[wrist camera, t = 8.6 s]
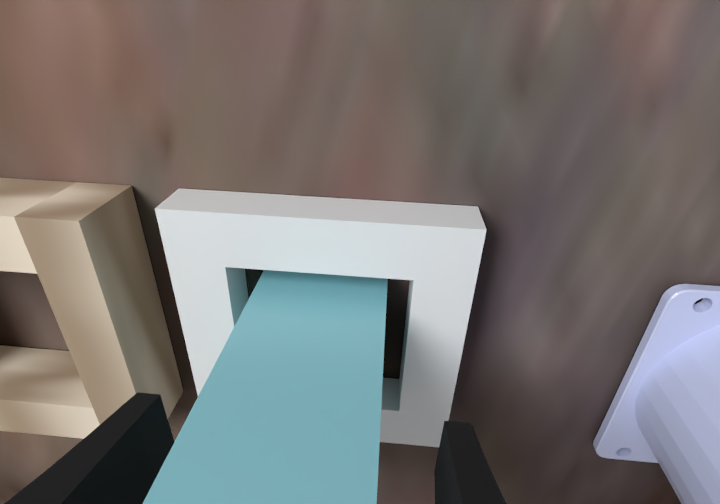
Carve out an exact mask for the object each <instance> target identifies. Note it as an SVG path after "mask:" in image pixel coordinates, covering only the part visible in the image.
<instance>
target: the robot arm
mask: <svg viewBox="0 0 720 504" xmlns="http://www.w3.org/2000/svg"><path fill="white" fill-rule="evenodd" d="M702 298H703V300H702V301H701V302H699V303H697V304H694V303H695V302H696V301H698V300H700V299H702ZM173 444H174V439H173V436H172V433H171V429H170V426H169V422H168V419H167V415H166V412H165V409H164V405H163V402H162V398H161V395H160V394H149V393H139V392H137V393H136V394H135V395H134V396H133V397H132V398H130V399H129V400H128V401H127V402H126V403H124V404H123V405H122V406H121V407H120V408H119V409H117V410H116V411H115V412H114V413H113V414H112V415H111V416H109V417H108V418H107V419H106V420H105V421H104V422H103V423H101V424H100V425H99V426H98V427H97V428H96V429H95V430H93V431H92V432H91V433H90V434H89V435H88V436H86V437H85V438H84V439H83V440H82V441H81V442H80V443H78V444H77V445H76V446H75V447H74V448H72V449H71V450H70V451H69V452H68V453H66V454H65V455H64V456H63V457H62V458H61V459H59V460H58V461H57V462H56V463H55V464H53V465H52V466H51V467H50V468H49V469H47V470H46V471H45V472H44V473H43V474H41V475H40V476H39V477H38V478H36V479H35V480H34V481H33V482H31V483H30V484H29V485H28V486H26V487H25V488H24V489H22V490H21V491H20V492H19V493H17V494H16V495H15V496H14V497H12V498H11V499H10V500H9V501H7V502H6V503H5V504H143V502H144V500H145V498H146V496H147V494H148V492H149V490H150V488H151V486H152V484H153V482H154V480H155V479H156V477H157V475H158V473H159V471H160V469H161V467H162V465H163V463H164V461H165V459H166V457H167V455H168V454H169V452H170V450H171V448H172V446H173ZM593 446H594V448H595V451H596V453H597V455H599V456H600V457H603V458H609V459H620V460H631V461H642V462H653V463H659V464H660V466H661V468H662V470H663V472H664V473H665V475H666V477H667V479H668V480H669V482H670V484H671V486H672V488H673V489H674V491H675V493H676V495H677V497H678V498H679V500H680V502H681V504H720V286H711V285H696V284H678V285H675V286H673V287H671V288H669V289H668V290H666V291H665V293H664V294H663V295H662V297H661V299H660V301H659V303H658V306H657V308H656V310H655V312H654V314H653V316H652V318H651V320H650V323H649V325H648V327H647V329H646V331H645V333H644V335H643V337H642V340H641V342H640V344H639V346H638V348H637V350H636V352H635V354H634V357H633V359H632V361H631V363H630V365H629V367H628V369H627V371H626V374H625V376H624V378H623V380H622V382H621V384H620V386H619V388H618V391H617V393H616V395H615V397H614V399H613V401H612V403H611V405H610V408H609V410H608V412H607V414H606V416H605V418H604V420H603V422H602V425H601V427H600V429H599V431H598V433H597V435H596V437H595V439H594V442H593ZM435 504H506V502H505V500H504V498H503V496H502V494H501V491H500V489H499V487H498V485H497V483H496V481H495V479H494V476H493V474H492V472H491V470H490V468H489V465H488V463H487V461H486V458H485V456H484V454H483V451H482V449H481V446H480V444H479V441H478V439H477V436H476V433H475V430H474V428H473V426H472V425H471V424H470V423H463V422H452V421H444V425H443V431H442V436H441V441H440V446H439V451H438V457H437V462H436V467H435Z"/></svg>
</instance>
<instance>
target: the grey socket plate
mask: <svg viewBox="0 0 720 504" xmlns="http://www.w3.org/2000/svg"><path fill="white" fill-rule="evenodd" d="M155 212H156V217H157V221H158V225H159V230H160V234H161V238H162V243H163V247H164V252H165V256H166V260H167V265H168V269H169V273H170V278H171V282H172V286H173V291H174V295H175V299H176V304H177V308H178V312H179V317H180V321H181V325H182V330H183V334H184V338H185V343H186V347H187V352H188V356H189V360H190V365H191V369H192V373H193V378H194V382H195V386H196V391H197V395H198V396H199V394H200V392H201V390H202V388H203V386H204V384H205V382H206V380H207V378H208V377H209V375H210V373H211V371H212V369H213V367H214V365H215V363H216V361H217V359H218V357H219V355H220V353H221V352H222V350H223V348H224V346H225V344H226V342H227V340H228V338H229V336H230V334H231V332H232V330H233V328H234V327H235V325H236V323H237V321H238V319H239V317H240V315H241V313H242V311H243V309H244V307H245V305H246V303H247V301H248V300H249V298H248V290H247V282H246V274H245V269H259V270H273V271H287V272H301V273H315V274H330V275H344V276H358V277H372V278H386V279H400V280H410V282H409V292H408V301H407V310H406V320H405V329H404V339H403V348H402V358H401V367H400V377H399V379H394V378H383V384H382V404H381V424H380V442H387V443H397V444H408V445H419V446H430V447H439V446H440V441H441V436H442V431H443V425H444V421H449V416H450V411H451V406H452V401H453V396H454V391H455V386H456V381H457V376H458V371H459V366H460V361H461V356H462V351H463V346H464V341H465V336H466V331H467V326H468V321H469V316H470V311H471V306H472V301H473V296H474V291H475V286H476V281H477V276H478V271H479V266H480V261H481V255H482V250H483V245H484V240H485V235H486V230H487V229H486V227H485V224H484V222H483V219H482V216H481V214H480V211H479V208H478V207H476V206H460V205H443V204H427V203H410V202H394V201H377V200H361V199H344V198H328V197H311V196H295V195H278V194H261V193H245V192H228V191H212V190H195V189H178V190H177V191H176V192H174V193H173V194H172V195H171V196H169V197H168V198H167V199H166V200H165V201H163V202H162V203H161V204H160V205H159V206H157V207H156V208H155Z"/></svg>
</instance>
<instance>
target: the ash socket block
mask: <svg viewBox="0 0 720 504" xmlns="http://www.w3.org/2000/svg"><path fill="white" fill-rule="evenodd" d="M0 271H9V272H22V273H36V274H38V276H39V279H40V281H41V284H42V286H43V288H44V291H45V293H46V296H47V298H48V301H49V303H50V305H51V308H52V310H53V313H54V315H55V317H56V320H57V322H58V325H59V327H60V330H61V332H62V334H63V337H64V339H65V342H66V344H67V346H68V349H69V351H61V350H49V349H37V348H25V347H14V346H2V345H0V431H10V432H20V433H30V434H41V435H51V436H62V437H72V438H83V439H84V438H85V437H86V436H88V435H89V434H90V433H91V432H92V431H93V430H95V429H96V428H97V427H98V426H99V425H100V424H101V423H103V422H104V421H105V420H106V419H107V418H108V417H109V416H111V415H112V414H113V413H114V412H115V411H116V410H117V409H119V408H120V407H121V406H122V405H123V404H124V403H126V402H127V401H128V400H129V399H130V398H132V397H133V396H134V395H135V394H136V393H137V392H139V393H149V394H160V395H161V398H162V402H163V405H164V409H165V412H166V415H167V419H168V418H169V416H170V414H171V413H172V411H173V409H174V407H175V406H176V404H177V402H178V400H179V399H180V397H181V395H182V393H183V388H182V384H181V380H180V376H179V372H178V368H177V364H176V360H175V356H174V352H173V348H172V344H171V340H170V336H169V332H168V328H167V324H166V320H165V316H164V312H163V308H162V304H161V300H160V296H159V292H158V288H157V284H156V281H155V277H154V273H153V269H152V265H151V261H150V257H149V253H148V249H147V245H146V241H145V237H144V233H143V229H142V225H141V221H140V217H139V213H138V209H137V205H136V201H135V197H134V193H133V189H132V186H129V185H113V184H96V183H79V182H63V181H46V180H30V179H13V178H0Z"/></svg>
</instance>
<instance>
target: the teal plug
mask: <svg viewBox="0 0 720 504" xmlns="http://www.w3.org/2000/svg"><path fill="white" fill-rule="evenodd" d="M387 284H388V279H386V278H372V277H358V276H344V275H330V274H315V273H301V272H287V271H273V270H264V271H263V273H262V275H261V276H260V278H259V280H258V282H257V284H256V286H255V288H254V290H253V292H252V294H251V296H250V298H249V300H248V301H247V303H246V305H245V307H244V309H243V311H242V313H241V315H240V317H239V319H238V321H237V323H236V325H235V327H234V328H233V330H232V332H231V334H230V336H229V338H228V340H227V342H226V344H225V346H224V348H223V350H222V352H221V353H220V355H219V357H218V359H217V361H216V363H215V365H214V367H213V369H212V371H211V373H210V375H209V377H208V378H207V380H206V382H205V384H204V386H203V388H202V390H201V392H200V394H199V396H198V398H197V400H196V402H195V404H194V405H193V407H192V409H191V411H190V413H189V415H188V417H187V419H186V421H185V423H184V425H183V427H182V429H181V430H180V432H179V434H178V436H177V438H176V440H175V442H174V444H173V446H172V448H171V450H170V452H169V454H168V455H167V457H166V459H165V461H164V463H163V465H162V467H161V469H160V471H159V473H158V475H157V477H156V479H155V480H154V482H153V484H152V486H151V488H150V490H149V492H148V494H147V496H146V498H145V500H144V502H143V504H377V485H378V464H379V444H380V424H381V404H382V384H383V364H384V344H385V324H386V304H387Z"/></svg>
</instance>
